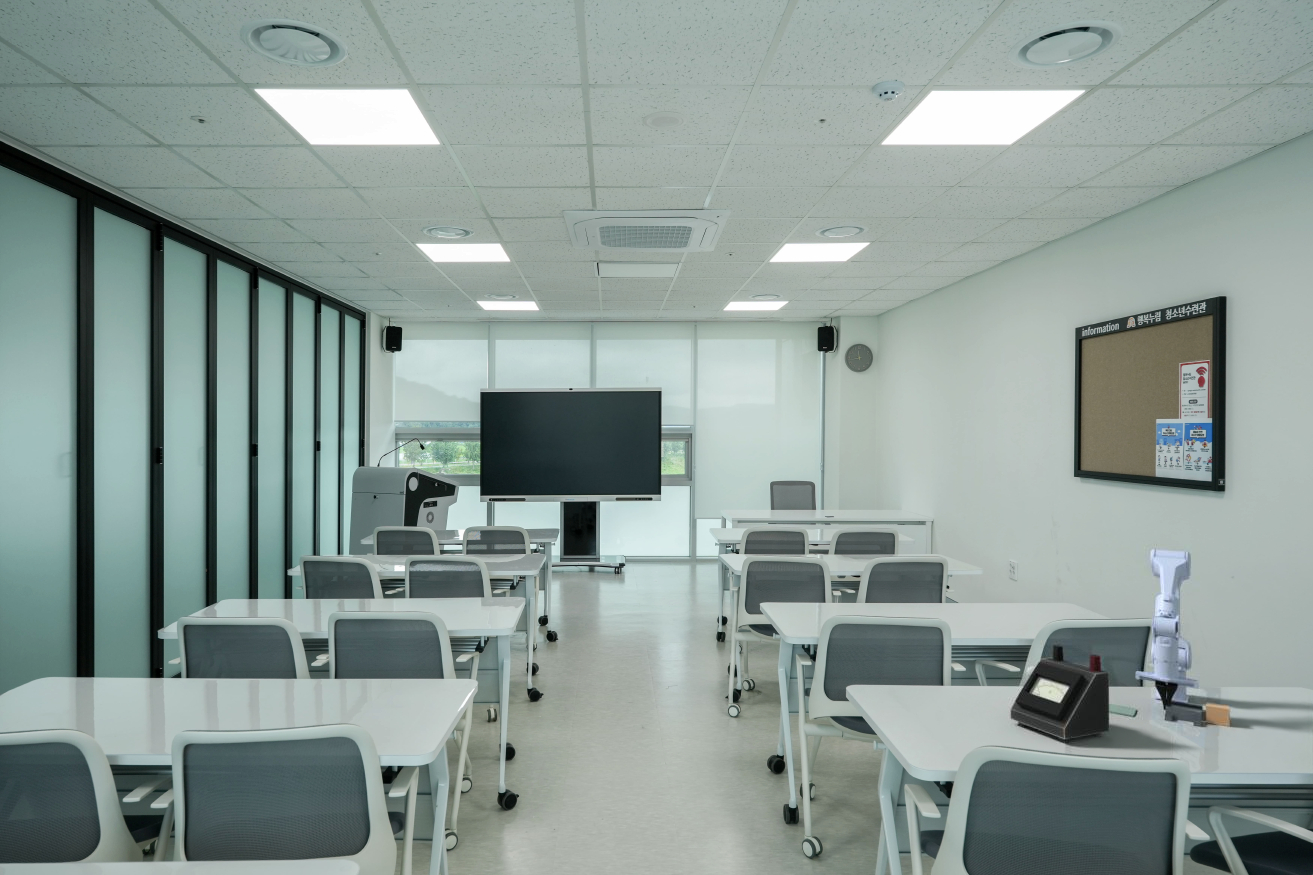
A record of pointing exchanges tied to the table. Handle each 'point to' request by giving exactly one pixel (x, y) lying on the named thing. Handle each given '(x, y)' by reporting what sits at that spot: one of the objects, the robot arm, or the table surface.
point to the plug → (1214, 713)
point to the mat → (1122, 710)
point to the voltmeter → (1064, 698)
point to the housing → (1184, 712)
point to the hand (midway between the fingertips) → (1166, 709)
